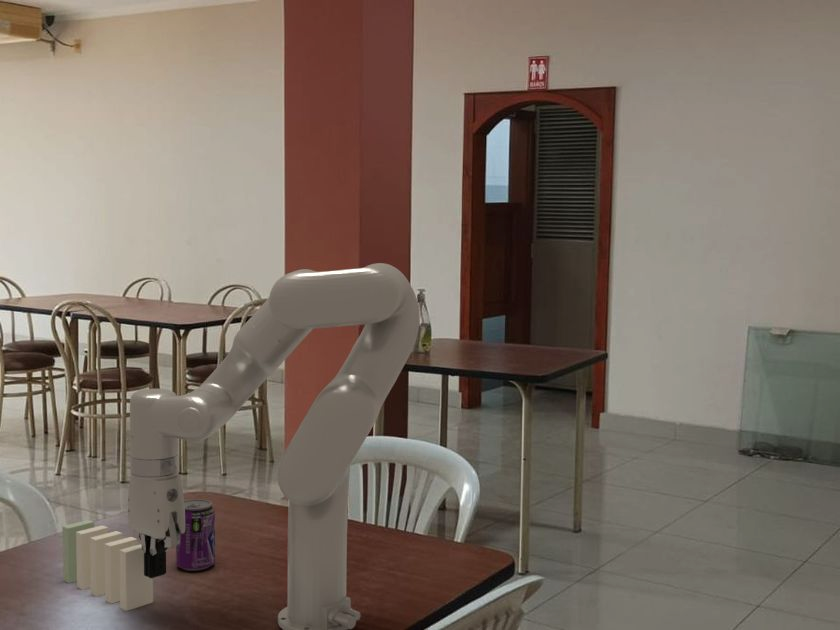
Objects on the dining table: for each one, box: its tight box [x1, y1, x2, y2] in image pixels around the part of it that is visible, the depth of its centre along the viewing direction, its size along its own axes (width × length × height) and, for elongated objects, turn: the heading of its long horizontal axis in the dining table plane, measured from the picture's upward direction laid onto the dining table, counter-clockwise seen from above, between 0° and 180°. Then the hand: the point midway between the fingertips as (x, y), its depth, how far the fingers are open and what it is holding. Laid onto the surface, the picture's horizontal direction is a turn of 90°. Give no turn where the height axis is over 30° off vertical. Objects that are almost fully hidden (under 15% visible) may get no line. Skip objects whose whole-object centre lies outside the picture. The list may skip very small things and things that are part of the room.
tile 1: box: [119, 544, 154, 612], centre depth 172 cm, size 2×5×10 cm, turn 139°
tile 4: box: [76, 525, 109, 591], centre depth 181 cm, size 2×5×10 cm, turn 139°
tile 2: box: [104, 536, 138, 604], centre depth 175 cm, size 2×5×10 cm, turn 139°
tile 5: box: [61, 519, 95, 584], centre depth 184 cm, size 2×5×10 cm, turn 139°
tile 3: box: [90, 530, 123, 598], centre depth 178 cm, size 2×5×10 cm, turn 139°
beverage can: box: [175, 498, 216, 572], centre depth 190 cm, size 7×7×12 cm
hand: (155, 574), depth 168 cm, fingers closed
